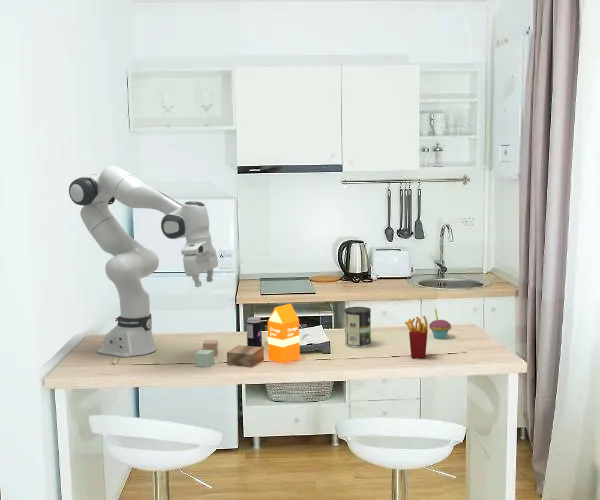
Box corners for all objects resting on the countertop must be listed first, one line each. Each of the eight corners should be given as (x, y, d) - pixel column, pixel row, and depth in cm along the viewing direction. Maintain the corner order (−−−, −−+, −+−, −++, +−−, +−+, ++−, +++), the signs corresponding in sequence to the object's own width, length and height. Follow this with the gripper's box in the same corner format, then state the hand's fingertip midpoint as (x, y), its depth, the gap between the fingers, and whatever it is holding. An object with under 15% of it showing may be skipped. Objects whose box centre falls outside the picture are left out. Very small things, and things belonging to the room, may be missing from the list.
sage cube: (195, 366, 274) (195, 353, 274) (201, 362, 279) (201, 349, 278) (208, 367, 273) (207, 354, 272) (214, 363, 277) (213, 350, 277)
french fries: (427, 359, 276) (427, 319, 274) (404, 358, 278) (404, 318, 276) (428, 353, 284) (428, 313, 282) (406, 352, 286) (406, 313, 284)
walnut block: (227, 365, 275) (226, 352, 274) (239, 358, 284) (238, 345, 284) (252, 368, 272) (252, 354, 271) (263, 360, 281) (263, 347, 280)
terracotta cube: (203, 356, 287) (202, 343, 286) (204, 353, 292) (204, 340, 291) (216, 356, 287) (216, 343, 286) (218, 352, 292) (217, 340, 291)
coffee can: (370, 340, 304) (369, 306, 302) (372, 347, 294) (371, 311, 292) (344, 341, 304) (343, 306, 302) (345, 348, 294) (344, 312, 292)
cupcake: (429, 339, 303) (429, 310, 302) (429, 334, 312) (429, 305, 310) (451, 340, 302) (451, 310, 300) (450, 334, 310) (450, 305, 309)
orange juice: (268, 359, 281) (266, 306, 278) (285, 354, 287) (283, 302, 284) (283, 363, 276) (282, 309, 273) (300, 357, 282) (299, 304, 279)
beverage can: (260, 350, 293) (259, 320, 291) (245, 350, 294) (244, 319, 292) (263, 346, 298) (262, 316, 297) (249, 346, 299) (248, 316, 298)
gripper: (204, 242, 285) (208, 279, 287) (178, 251, 266) (183, 290, 267) (219, 241, 283) (224, 278, 284) (194, 250, 264) (199, 289, 265)
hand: (204, 284), depth 276 cm, fingers open, 8 cm apart
